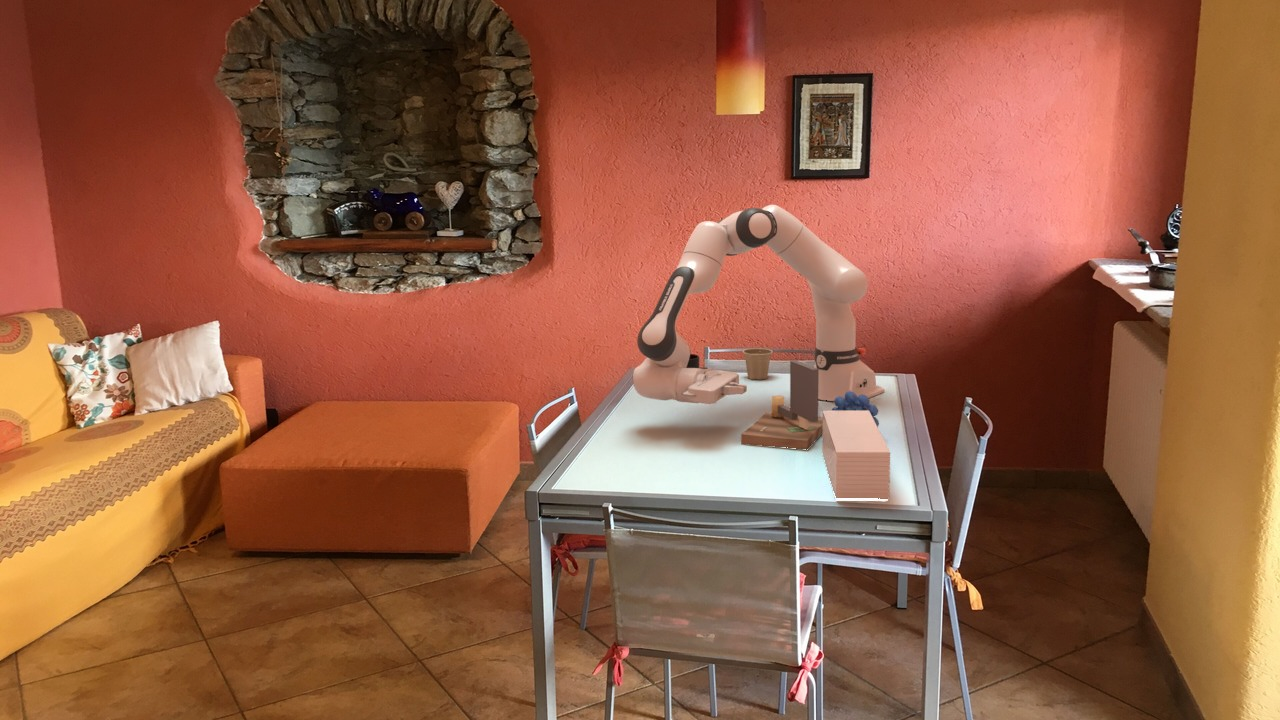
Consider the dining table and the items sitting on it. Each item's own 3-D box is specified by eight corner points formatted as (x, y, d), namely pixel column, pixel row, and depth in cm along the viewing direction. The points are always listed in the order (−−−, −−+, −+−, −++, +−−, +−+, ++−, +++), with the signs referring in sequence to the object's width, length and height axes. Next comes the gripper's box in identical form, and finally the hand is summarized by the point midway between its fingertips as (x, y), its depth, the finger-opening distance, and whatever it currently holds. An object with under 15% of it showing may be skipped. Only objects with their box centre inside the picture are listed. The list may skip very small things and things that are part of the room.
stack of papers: (888, 502, 196) (890, 452, 194) (835, 502, 197) (836, 452, 195) (868, 454, 227) (869, 410, 225) (822, 454, 228) (822, 410, 226)
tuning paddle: (769, 414, 252) (769, 354, 248) (780, 413, 253) (780, 353, 249) (809, 435, 233) (809, 370, 229) (820, 433, 234) (821, 368, 230)
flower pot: (778, 376, 305) (778, 350, 304) (761, 382, 299) (761, 355, 297) (754, 373, 312) (753, 347, 310) (736, 378, 305) (736, 352, 303)
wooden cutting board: (766, 421, 256) (766, 411, 255) (828, 427, 249) (828, 417, 248) (741, 443, 237) (741, 433, 236) (806, 450, 230) (807, 439, 230)
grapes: (832, 443, 236) (832, 395, 233) (830, 435, 242) (830, 388, 240) (880, 443, 234) (881, 395, 232) (877, 435, 241) (878, 388, 238)
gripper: (677, 382, 236) (731, 386, 230) (706, 365, 254) (757, 369, 248) (677, 407, 237) (731, 412, 231) (707, 388, 255) (757, 392, 250)
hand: (745, 389), depth 240 cm, fingers closed
